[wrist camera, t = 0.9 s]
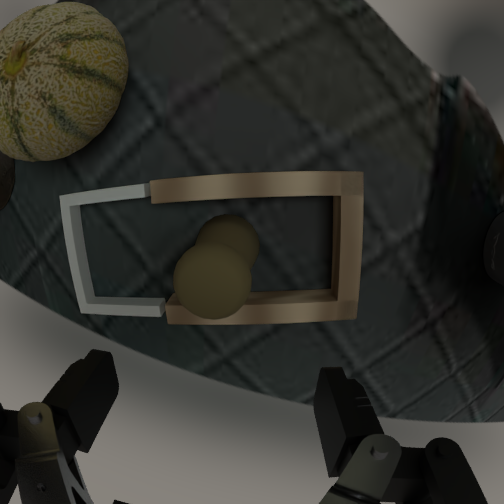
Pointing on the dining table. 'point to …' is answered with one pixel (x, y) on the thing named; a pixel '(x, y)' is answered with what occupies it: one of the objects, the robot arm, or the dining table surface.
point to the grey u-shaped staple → (80, 262)
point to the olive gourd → (217, 268)
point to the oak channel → (274, 185)
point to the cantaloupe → (58, 80)
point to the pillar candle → (6, 178)
